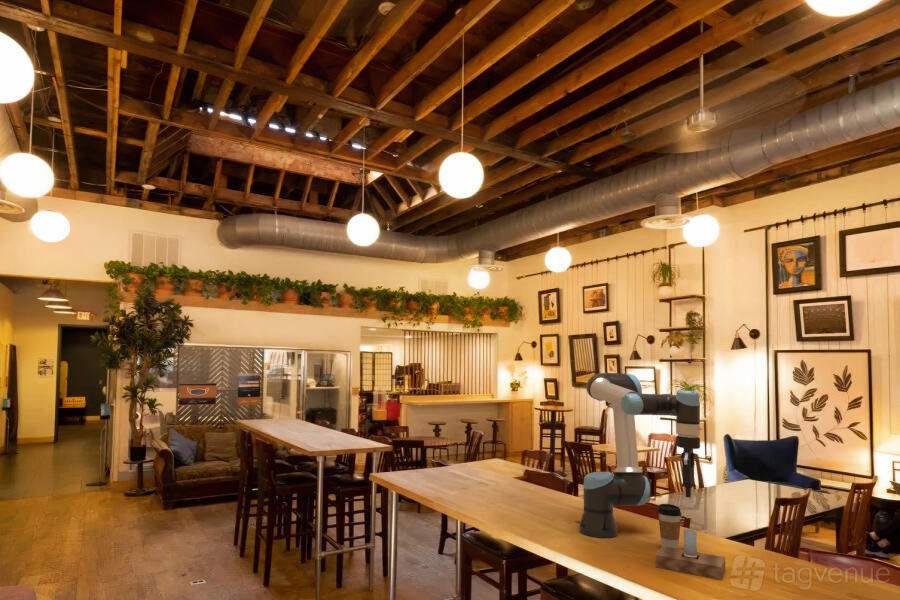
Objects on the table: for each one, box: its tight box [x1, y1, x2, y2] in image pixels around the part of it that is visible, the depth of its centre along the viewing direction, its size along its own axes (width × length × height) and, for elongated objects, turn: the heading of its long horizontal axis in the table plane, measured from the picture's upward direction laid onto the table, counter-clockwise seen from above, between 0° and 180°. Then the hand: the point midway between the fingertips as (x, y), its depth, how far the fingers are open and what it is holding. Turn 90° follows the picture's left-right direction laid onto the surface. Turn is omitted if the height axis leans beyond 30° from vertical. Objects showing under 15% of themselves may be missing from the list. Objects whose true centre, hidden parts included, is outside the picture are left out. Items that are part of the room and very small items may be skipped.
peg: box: [683, 529, 698, 559], centre depth 190 cm, size 4×4×12 cm
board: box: [655, 545, 726, 581], centre depth 189 cm, size 20×12×4 cm, turn 59°
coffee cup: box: [657, 503, 682, 549], centre depth 212 cm, size 8×8×15 cm
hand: (688, 506), depth 192 cm, fingers closed
